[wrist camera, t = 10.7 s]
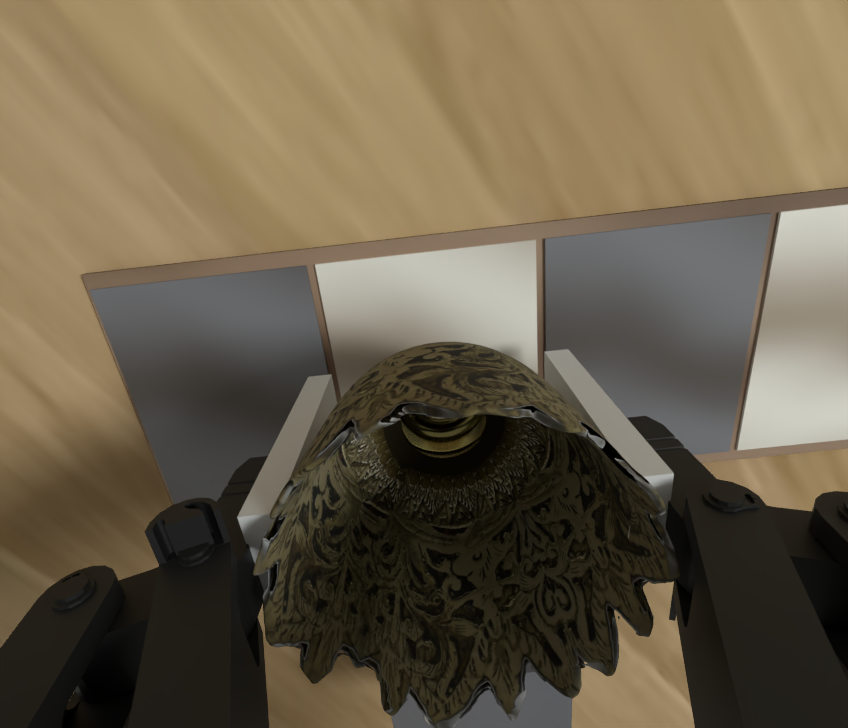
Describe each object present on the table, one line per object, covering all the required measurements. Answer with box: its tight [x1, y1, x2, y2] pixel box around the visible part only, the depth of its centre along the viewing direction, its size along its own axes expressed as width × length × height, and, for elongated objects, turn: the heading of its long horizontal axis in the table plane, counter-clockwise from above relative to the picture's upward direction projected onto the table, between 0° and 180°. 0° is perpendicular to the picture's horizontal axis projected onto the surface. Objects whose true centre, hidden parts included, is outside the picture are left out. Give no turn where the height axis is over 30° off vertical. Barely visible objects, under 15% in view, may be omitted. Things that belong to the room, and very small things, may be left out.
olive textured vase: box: [253, 342, 680, 728], centre depth 12 cm, size 8×7×8 cm
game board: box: [81, 187, 848, 505], centre depth 17 cm, size 10×30×1 cm, turn 96°
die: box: [391, 663, 572, 728], centre depth 19 cm, size 6×6×6 cm
